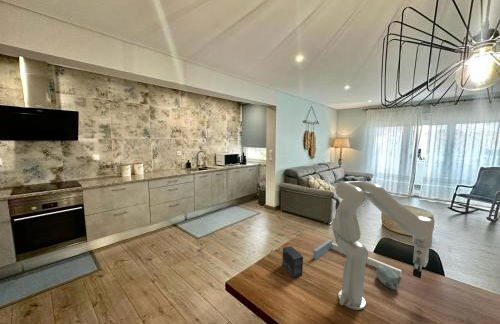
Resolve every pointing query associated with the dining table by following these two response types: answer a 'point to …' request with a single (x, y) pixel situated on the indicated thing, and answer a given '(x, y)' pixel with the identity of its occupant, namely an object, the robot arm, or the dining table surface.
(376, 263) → the fence
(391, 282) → the grey rock
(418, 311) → the dining table surface
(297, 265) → the small box
